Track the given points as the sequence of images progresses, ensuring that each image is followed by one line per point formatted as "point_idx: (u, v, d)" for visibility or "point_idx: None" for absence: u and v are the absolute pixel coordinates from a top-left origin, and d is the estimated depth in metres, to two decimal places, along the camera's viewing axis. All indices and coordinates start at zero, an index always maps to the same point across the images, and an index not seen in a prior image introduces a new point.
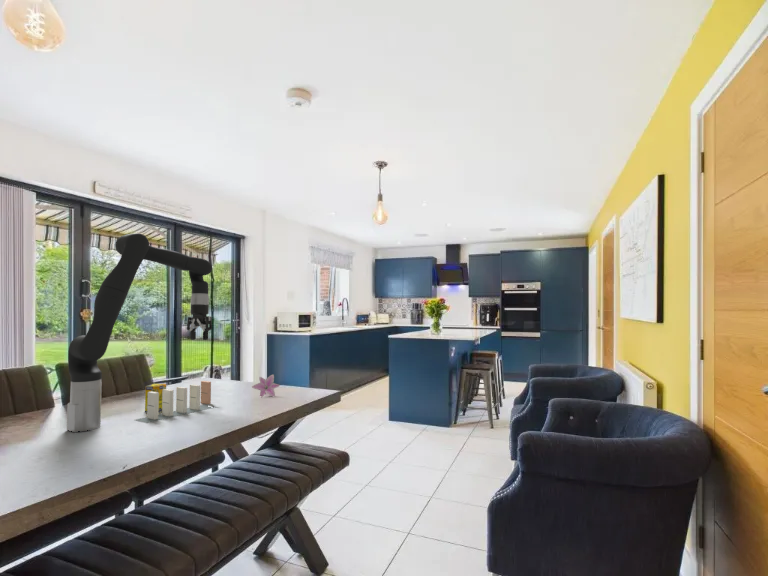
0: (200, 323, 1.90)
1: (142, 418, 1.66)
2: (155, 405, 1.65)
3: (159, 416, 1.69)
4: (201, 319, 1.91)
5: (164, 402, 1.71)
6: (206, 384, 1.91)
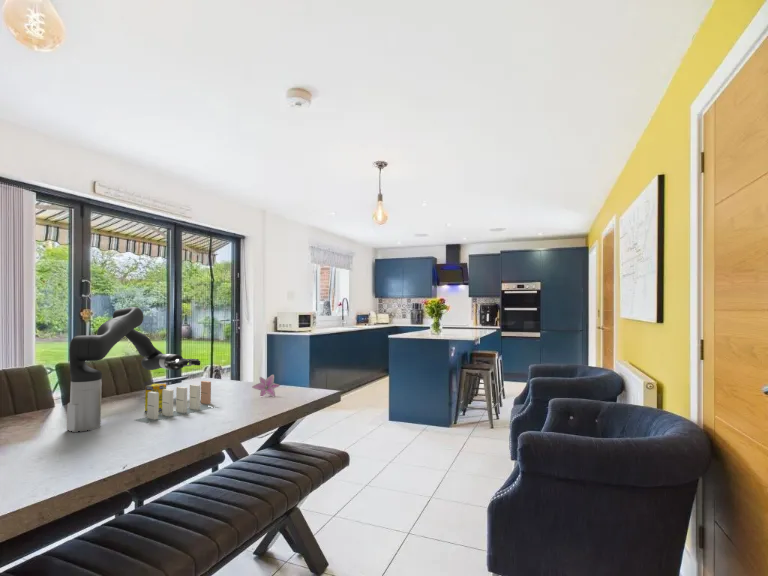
0: None
1: (142, 418, 1.66)
2: (155, 405, 1.65)
3: (159, 416, 1.69)
4: None
5: (164, 402, 1.71)
6: (206, 384, 1.91)
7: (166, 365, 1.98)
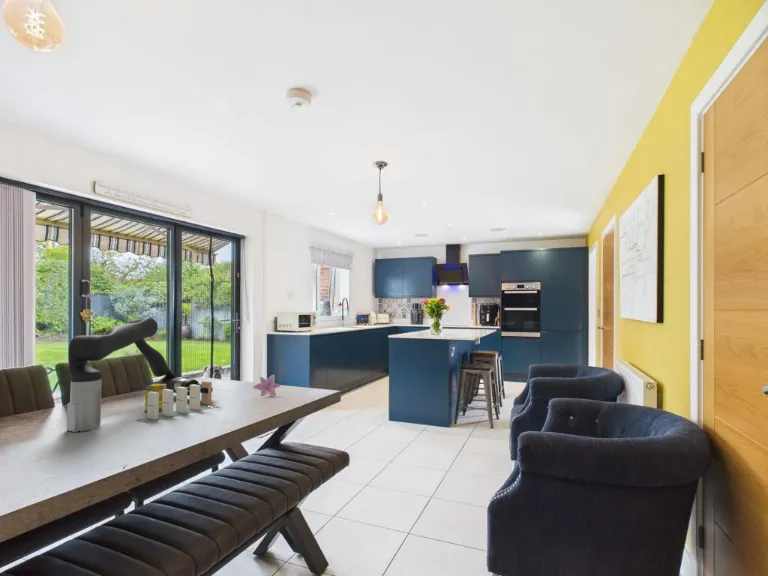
0: None
1: (142, 418, 1.66)
2: (155, 405, 1.65)
3: (159, 416, 1.69)
4: None
5: (164, 402, 1.71)
6: (207, 384, 1.91)
7: (188, 391, 1.90)
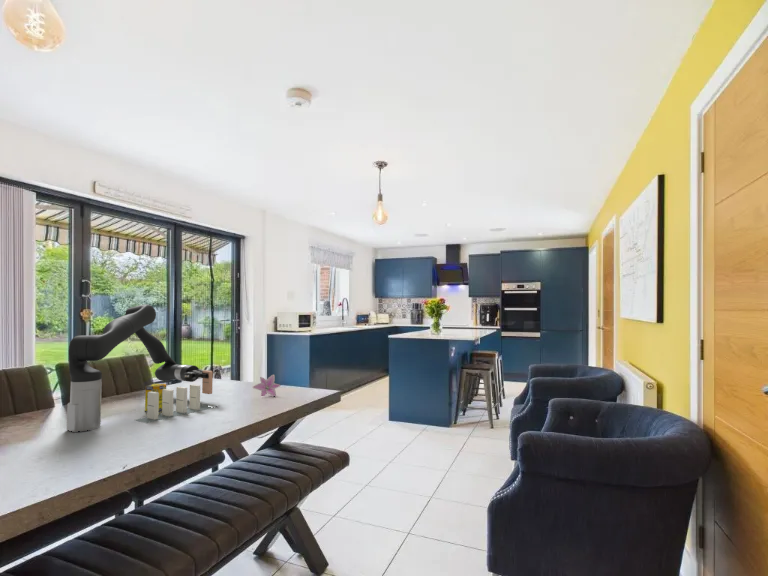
0: (202, 370, 1.97)
1: (142, 418, 1.66)
2: (155, 405, 1.65)
3: (159, 416, 1.69)
4: None
5: (164, 402, 1.71)
6: None
7: (188, 376, 1.91)
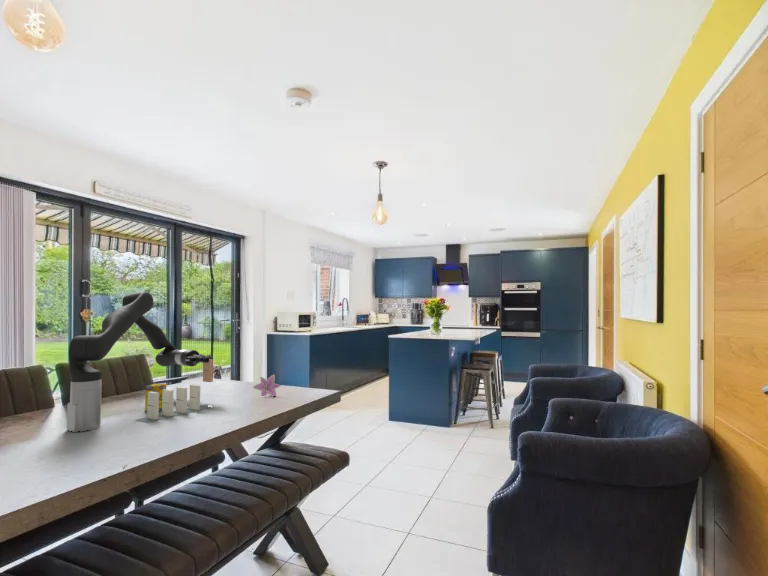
0: None
1: (142, 418, 1.66)
2: (155, 405, 1.65)
3: (159, 416, 1.69)
4: (201, 355, 1.99)
5: (164, 402, 1.71)
6: (208, 362, 1.91)
7: (188, 360, 1.91)
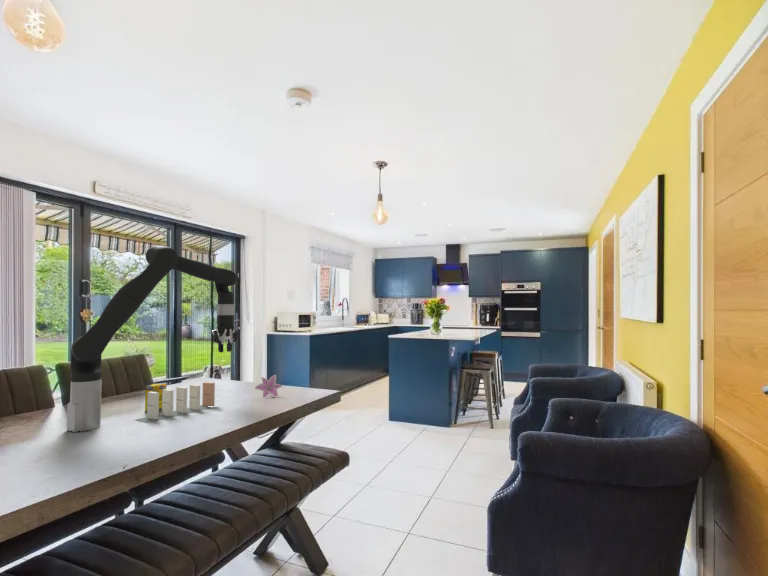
0: (231, 334, 1.96)
1: (142, 418, 1.66)
2: (155, 405, 1.65)
3: (159, 416, 1.69)
4: (231, 329, 1.97)
5: (164, 402, 1.71)
6: (210, 386, 1.86)
7: (213, 334, 1.90)
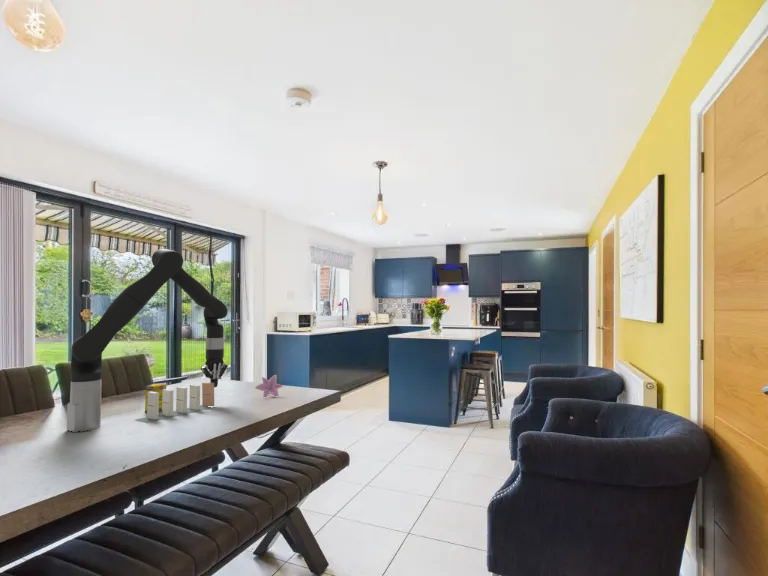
0: (219, 369, 1.90)
1: (142, 418, 1.66)
2: (155, 405, 1.65)
3: (159, 416, 1.69)
4: (221, 362, 1.92)
5: (164, 402, 1.71)
6: (209, 386, 1.86)
7: (203, 371, 1.86)
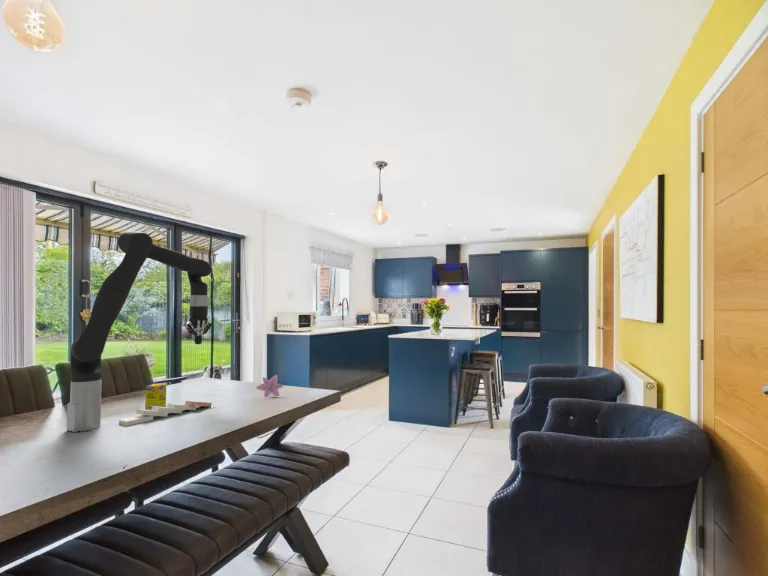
0: (203, 326, 1.92)
1: None
2: (139, 422, 1.59)
3: (159, 416, 1.69)
4: (205, 320, 1.93)
5: None
6: (194, 405, 1.78)
7: (187, 327, 1.87)
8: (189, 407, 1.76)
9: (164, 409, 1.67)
